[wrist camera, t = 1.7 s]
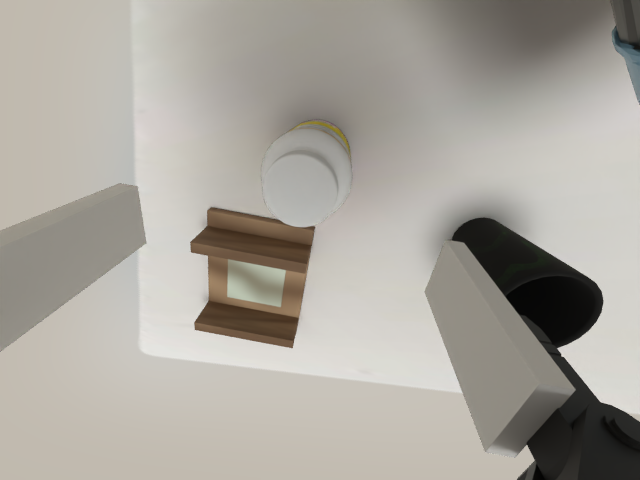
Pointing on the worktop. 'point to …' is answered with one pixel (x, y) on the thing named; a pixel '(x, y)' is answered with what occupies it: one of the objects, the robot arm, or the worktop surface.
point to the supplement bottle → (307, 173)
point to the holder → (253, 276)
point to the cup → (534, 280)
